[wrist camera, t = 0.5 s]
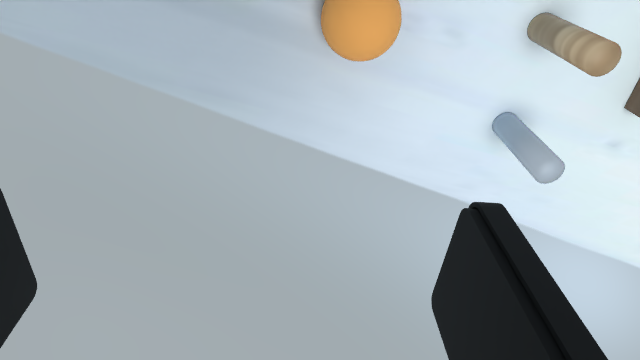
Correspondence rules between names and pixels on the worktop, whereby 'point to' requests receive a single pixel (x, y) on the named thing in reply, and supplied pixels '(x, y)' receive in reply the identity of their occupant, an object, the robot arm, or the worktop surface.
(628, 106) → the back wall
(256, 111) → the worktop surface
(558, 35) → the maple pin
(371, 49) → the ball
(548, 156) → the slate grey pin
